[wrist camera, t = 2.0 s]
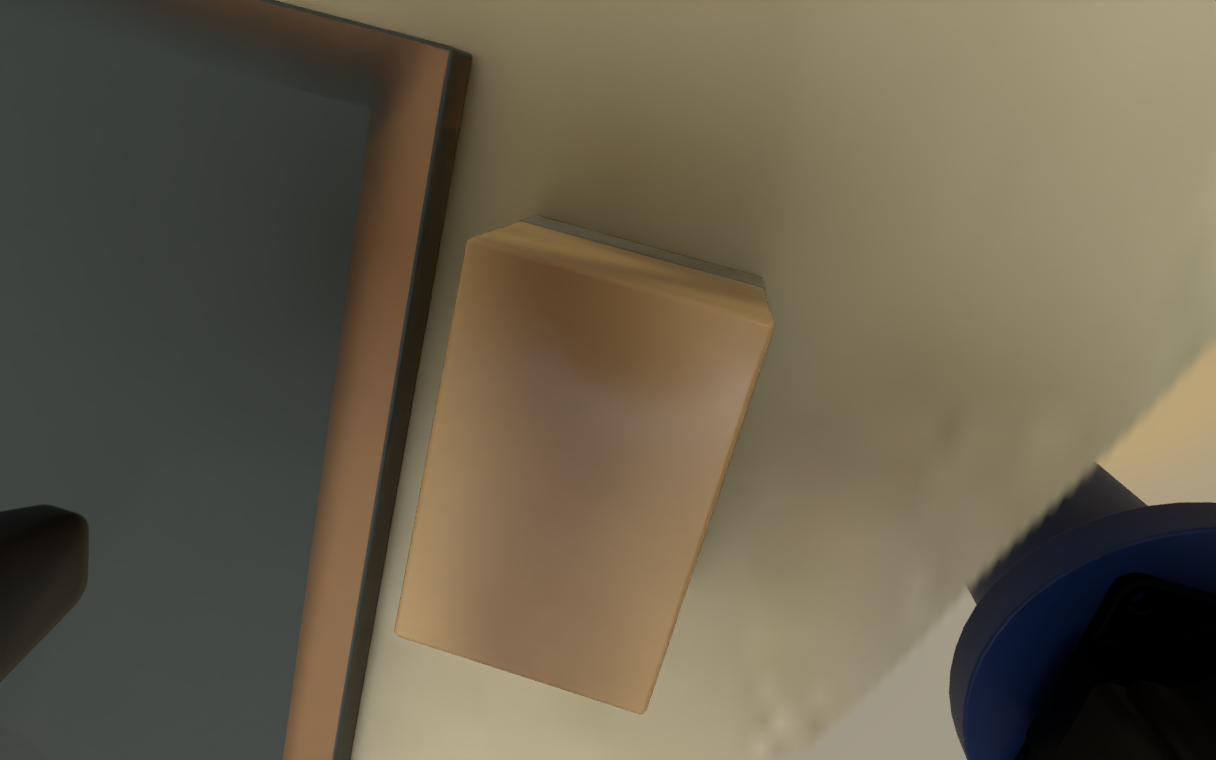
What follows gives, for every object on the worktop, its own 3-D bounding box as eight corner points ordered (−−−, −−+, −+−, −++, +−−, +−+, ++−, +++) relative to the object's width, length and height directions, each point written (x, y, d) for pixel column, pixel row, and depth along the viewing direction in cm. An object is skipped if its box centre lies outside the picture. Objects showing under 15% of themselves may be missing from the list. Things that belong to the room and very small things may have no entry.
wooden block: (763, 277, 14) (777, 322, 10) (664, 586, 16) (644, 718, 12) (535, 214, 14) (465, 236, 10) (468, 525, 16) (391, 636, 13)
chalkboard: (473, 54, 14) (454, 46, 13) (318, 940, 21) (299, 977, 20) (-290, -145, 15) (-361, -166, 14) (-176, 765, 22) (-216, 791, 21)
